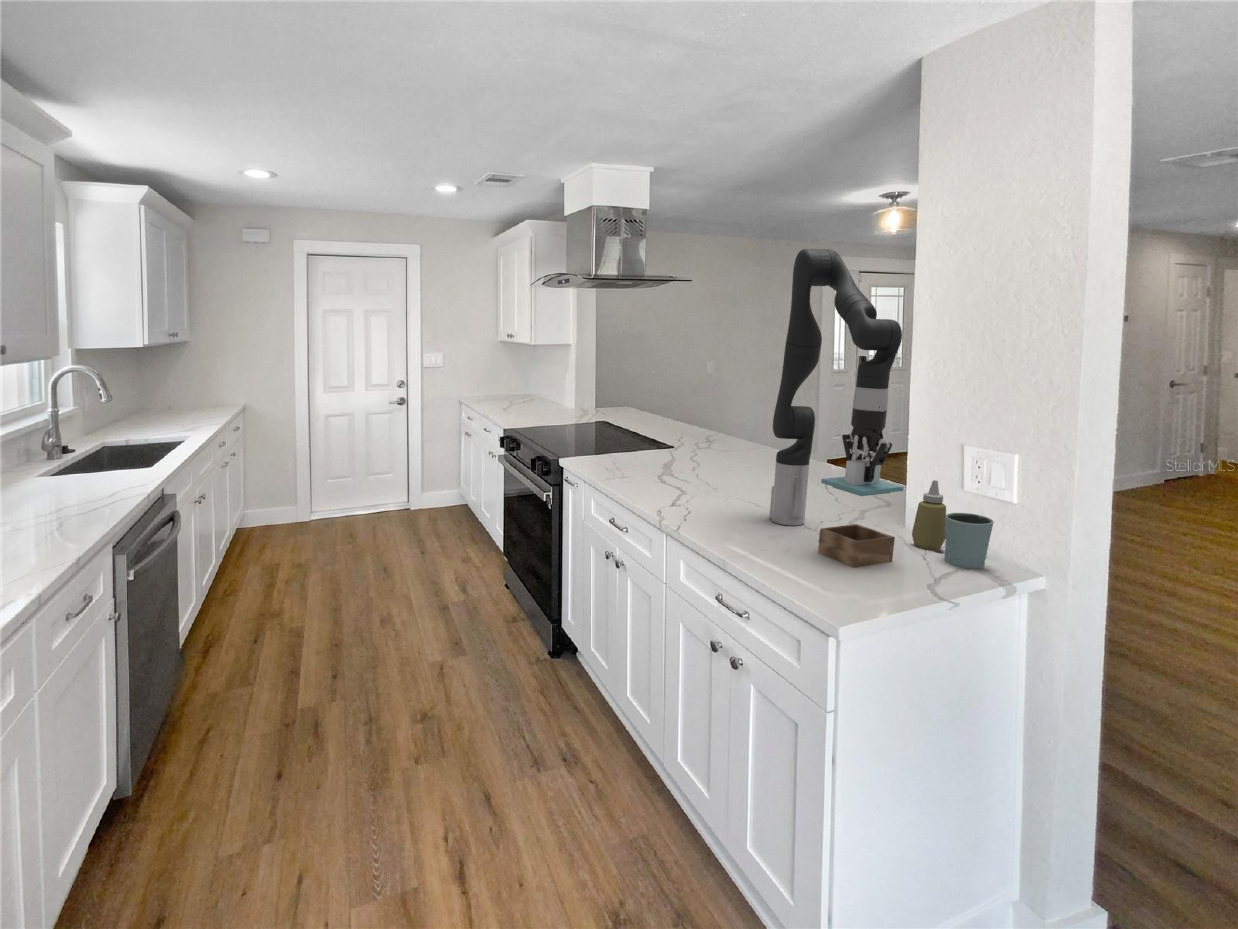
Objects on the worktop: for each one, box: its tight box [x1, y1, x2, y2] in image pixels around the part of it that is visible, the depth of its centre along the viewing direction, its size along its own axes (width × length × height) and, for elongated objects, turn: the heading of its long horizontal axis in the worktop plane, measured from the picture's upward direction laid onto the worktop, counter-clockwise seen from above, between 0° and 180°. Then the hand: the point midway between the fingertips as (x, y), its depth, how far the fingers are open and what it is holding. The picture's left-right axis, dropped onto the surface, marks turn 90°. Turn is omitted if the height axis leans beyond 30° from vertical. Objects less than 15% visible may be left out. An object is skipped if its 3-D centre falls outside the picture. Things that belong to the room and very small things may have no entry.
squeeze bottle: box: [911, 479, 947, 553], centre depth 182 cm, size 8×8×18 cm
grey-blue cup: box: [944, 512, 995, 570], centre depth 170 cm, size 10×10×12 cm
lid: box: [820, 458, 905, 497], centre depth 168 cm, size 13×13×7 cm
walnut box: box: [817, 523, 896, 569], centre depth 172 cm, size 12×12×7 cm
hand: (862, 479), depth 169 cm, fingers closed on lid, 3 cm apart
